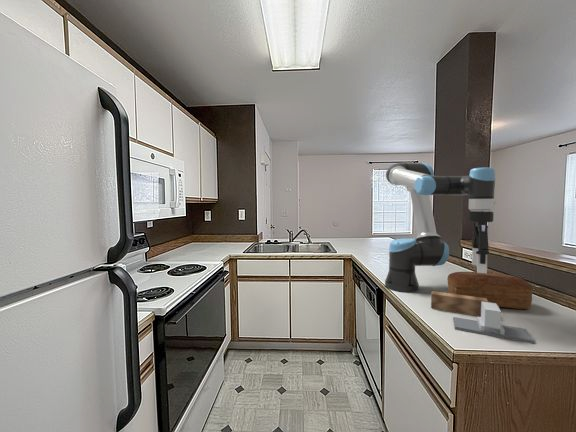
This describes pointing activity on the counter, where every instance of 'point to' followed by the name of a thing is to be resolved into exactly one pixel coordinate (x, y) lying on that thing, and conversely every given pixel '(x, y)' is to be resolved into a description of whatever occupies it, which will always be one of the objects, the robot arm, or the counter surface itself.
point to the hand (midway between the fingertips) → (478, 268)
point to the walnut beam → (457, 303)
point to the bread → (492, 288)
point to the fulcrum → (492, 325)
